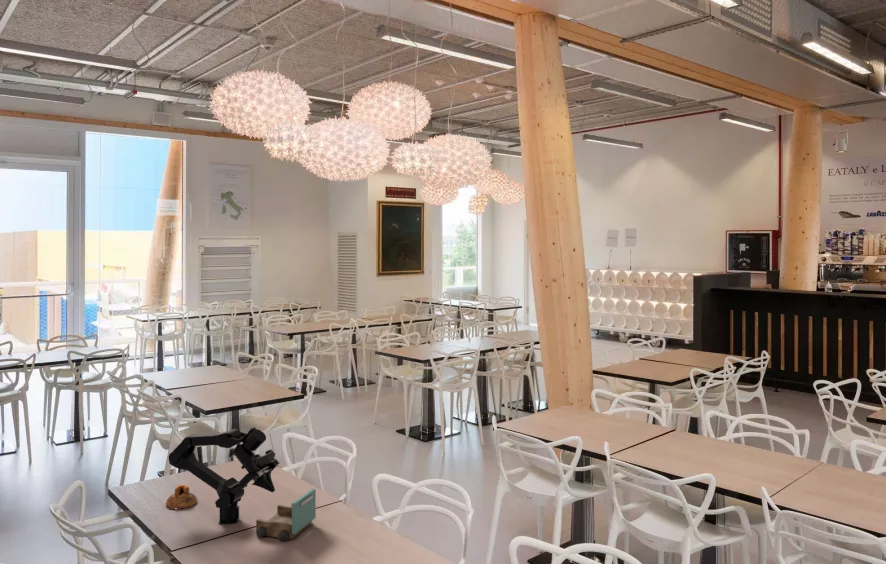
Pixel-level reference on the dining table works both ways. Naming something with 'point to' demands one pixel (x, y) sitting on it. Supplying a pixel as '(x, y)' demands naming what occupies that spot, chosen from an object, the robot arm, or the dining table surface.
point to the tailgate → (303, 510)
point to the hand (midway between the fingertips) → (273, 491)
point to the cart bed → (278, 524)
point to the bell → (181, 498)
